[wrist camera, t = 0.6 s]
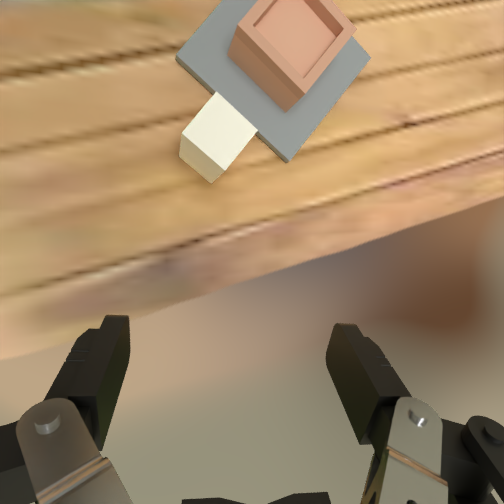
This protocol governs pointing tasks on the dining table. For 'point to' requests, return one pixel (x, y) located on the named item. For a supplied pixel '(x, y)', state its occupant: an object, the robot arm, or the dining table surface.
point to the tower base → (276, 64)
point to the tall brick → (215, 138)
